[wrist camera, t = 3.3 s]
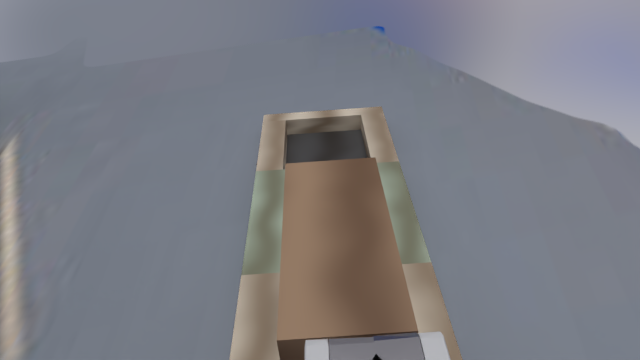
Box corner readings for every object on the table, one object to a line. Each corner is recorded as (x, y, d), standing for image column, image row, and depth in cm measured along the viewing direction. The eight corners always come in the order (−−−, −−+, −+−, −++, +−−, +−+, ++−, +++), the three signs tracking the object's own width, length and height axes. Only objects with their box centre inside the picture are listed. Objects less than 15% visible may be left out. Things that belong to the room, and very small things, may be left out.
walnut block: (300, 475, 27) (276, 340, 20) (300, 289, 39) (285, 163, 32) (406, 468, 27) (418, 330, 20) (374, 283, 38) (375, 157, 32)
